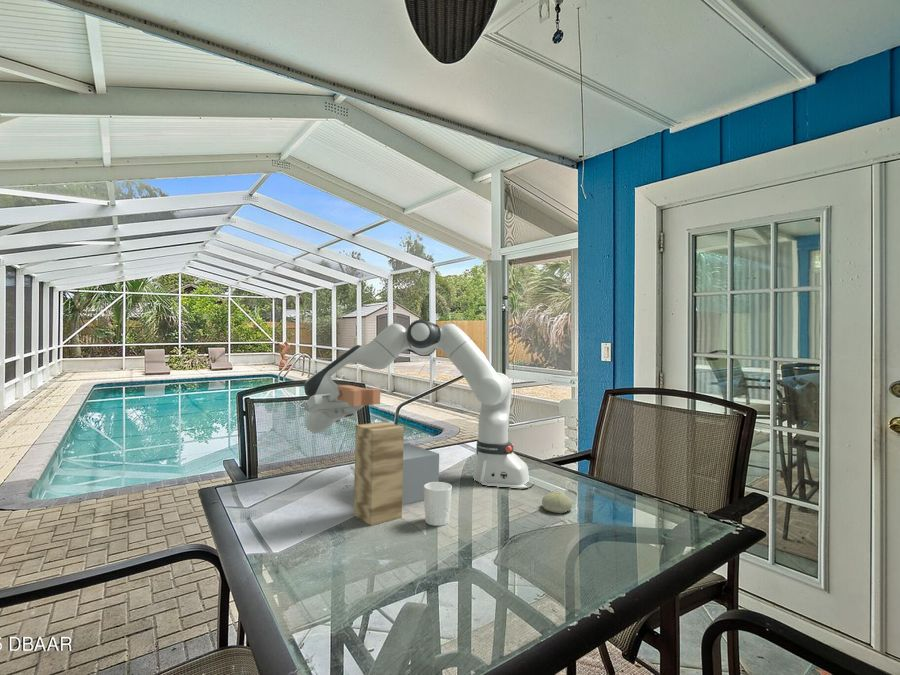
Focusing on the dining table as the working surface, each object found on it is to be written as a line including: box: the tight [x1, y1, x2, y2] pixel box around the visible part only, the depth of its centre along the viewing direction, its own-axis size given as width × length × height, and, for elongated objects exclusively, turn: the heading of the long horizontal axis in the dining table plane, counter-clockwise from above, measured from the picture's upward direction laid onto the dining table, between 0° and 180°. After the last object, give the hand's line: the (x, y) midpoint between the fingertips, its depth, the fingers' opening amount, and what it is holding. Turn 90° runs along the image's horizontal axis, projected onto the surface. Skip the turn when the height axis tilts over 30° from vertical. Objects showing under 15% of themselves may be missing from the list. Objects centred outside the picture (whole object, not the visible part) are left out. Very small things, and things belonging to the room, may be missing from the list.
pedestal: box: [353, 421, 405, 527], centre depth 137 cm, size 10×10×26 cm
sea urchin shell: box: [541, 491, 573, 514], centre depth 146 cm, size 9×8×8 cm
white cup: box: [423, 481, 453, 527], centre depth 134 cm, size 8×8×10 cm
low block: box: [402, 443, 440, 507], centre depth 157 cm, size 18×15×14 cm
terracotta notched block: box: [337, 384, 381, 407], centre depth 149 cm, size 16×9×4 cm, turn 39°
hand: (347, 391), depth 153 cm, fingers closed on terracotta notched block, 4 cm apart
